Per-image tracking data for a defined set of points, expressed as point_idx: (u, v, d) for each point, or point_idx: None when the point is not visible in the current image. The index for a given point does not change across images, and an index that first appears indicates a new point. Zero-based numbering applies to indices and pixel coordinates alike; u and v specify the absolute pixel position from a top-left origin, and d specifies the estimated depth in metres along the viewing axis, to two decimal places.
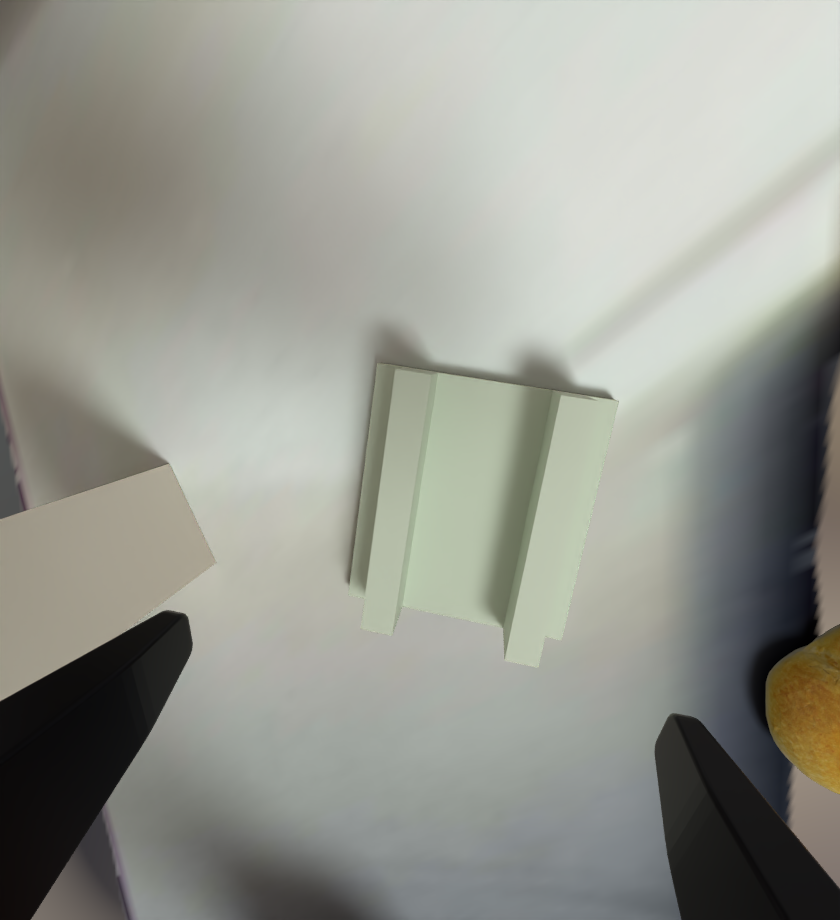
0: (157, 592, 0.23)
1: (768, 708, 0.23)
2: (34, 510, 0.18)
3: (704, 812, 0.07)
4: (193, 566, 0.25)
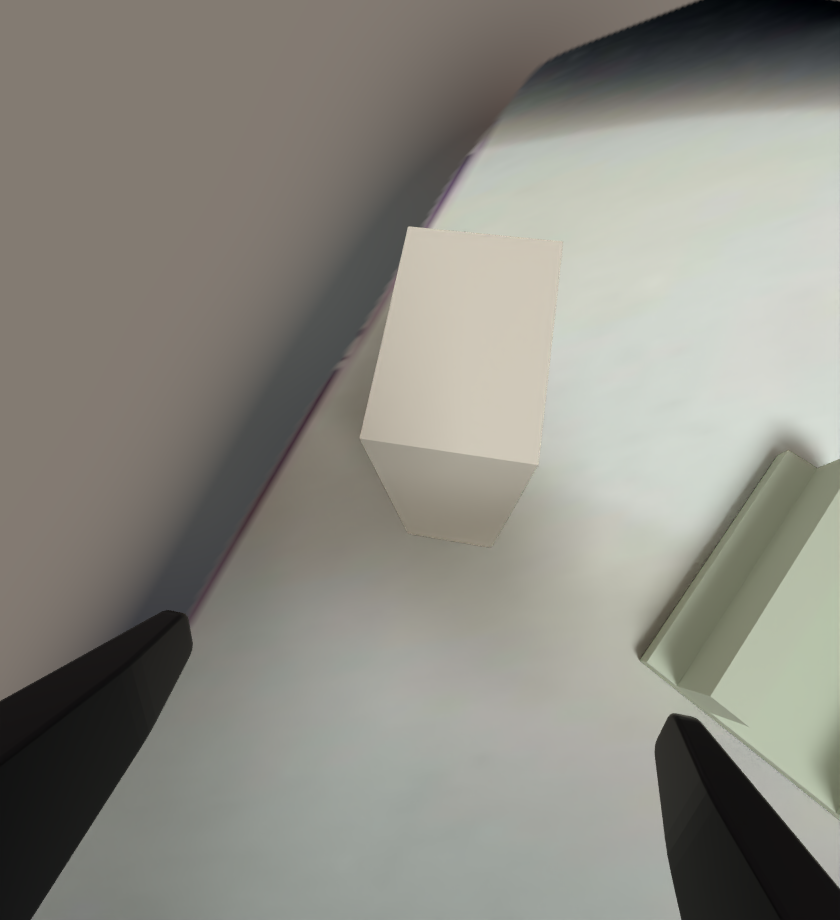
0: None
1: None
2: None
3: (704, 812, 0.07)
4: None
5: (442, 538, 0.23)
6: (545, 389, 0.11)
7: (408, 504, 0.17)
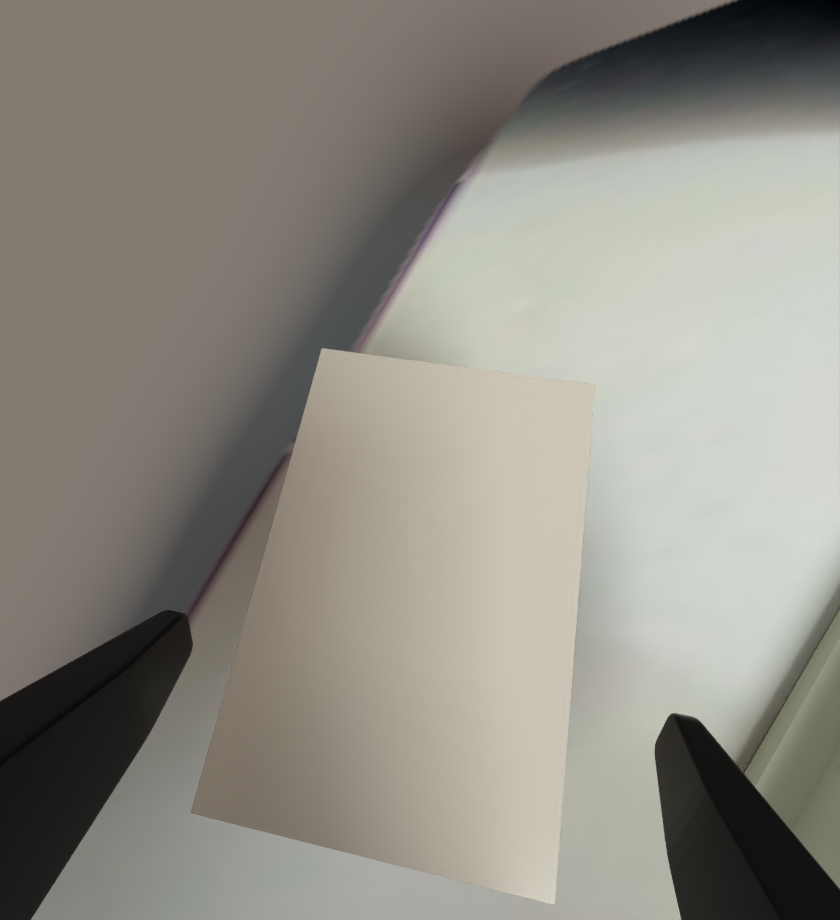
0: None
1: None
2: None
3: (705, 812, 0.07)
4: None
5: None
6: (567, 711, 0.05)
7: None
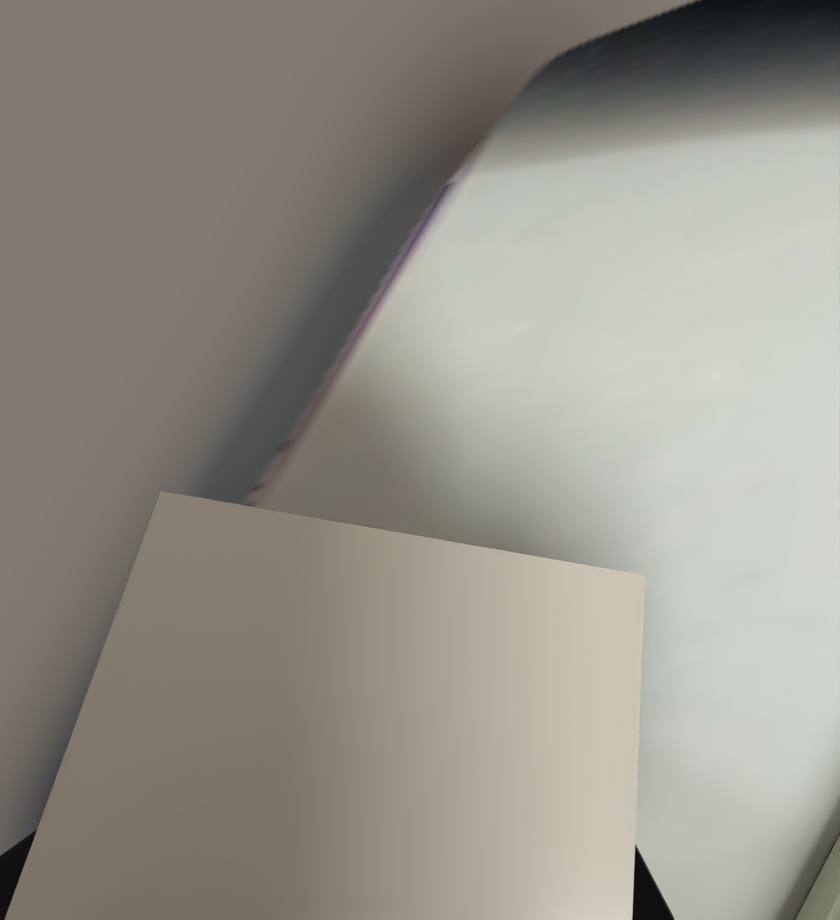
0: None
1: None
2: None
3: None
4: None
5: None
6: None
7: None
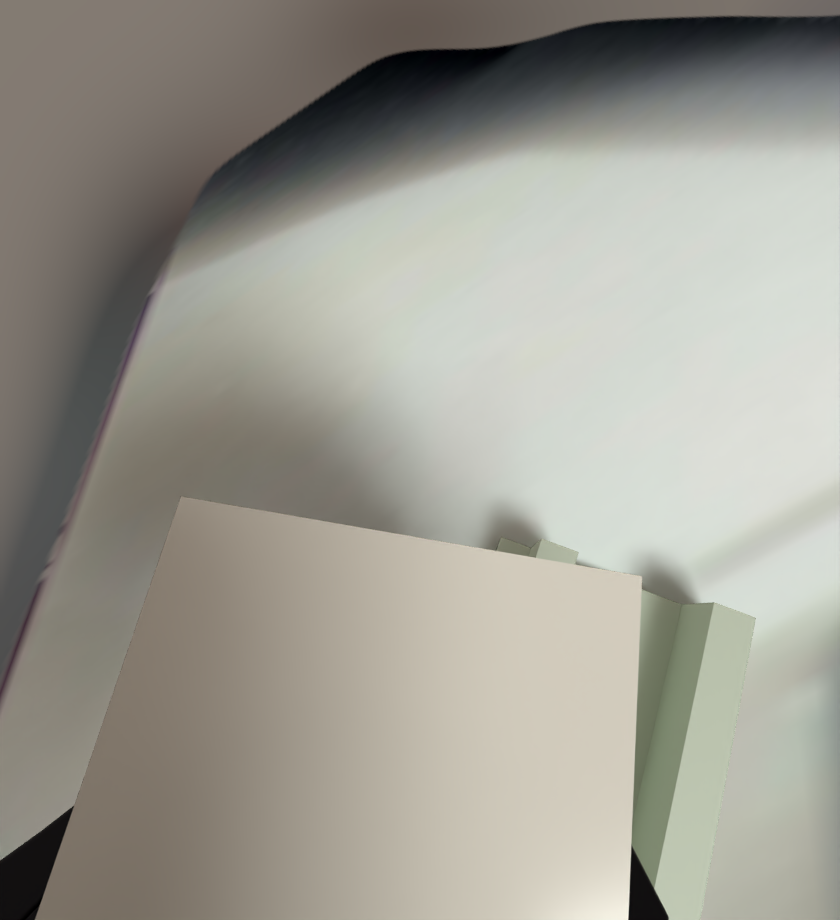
0: None
1: None
2: None
3: None
4: None
5: None
6: None
7: None
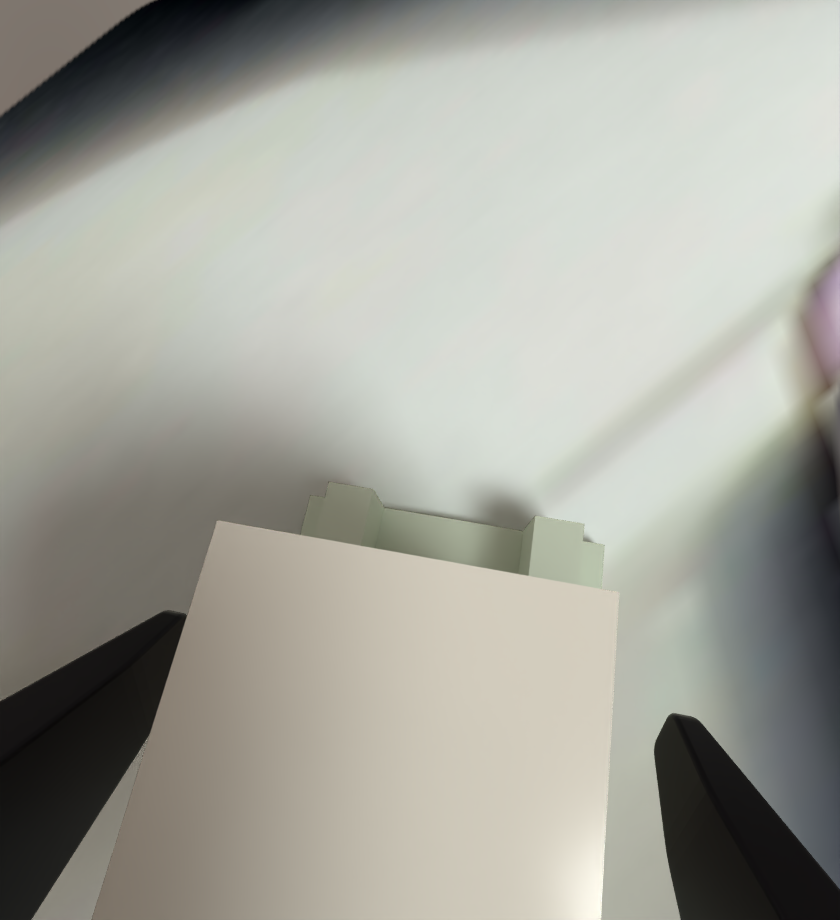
0: None
1: None
2: None
3: (703, 812, 0.07)
4: None
5: None
6: None
7: None
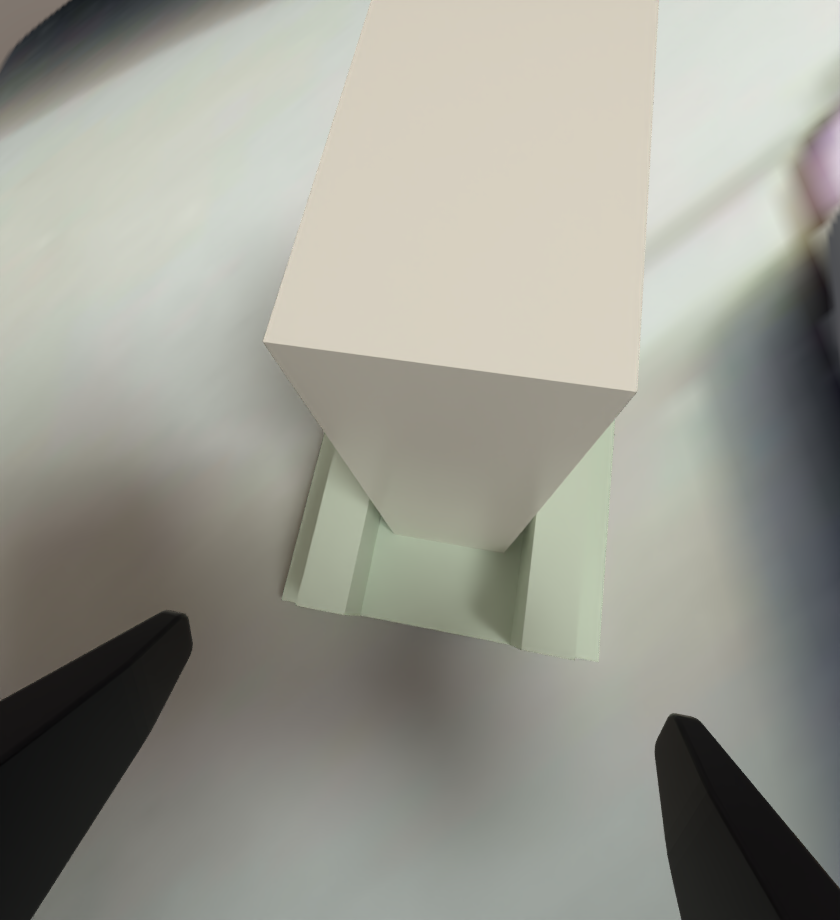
0: None
1: None
2: None
3: (704, 812, 0.07)
4: None
5: (439, 540, 0.17)
6: (643, 244, 0.05)
7: (386, 491, 0.11)
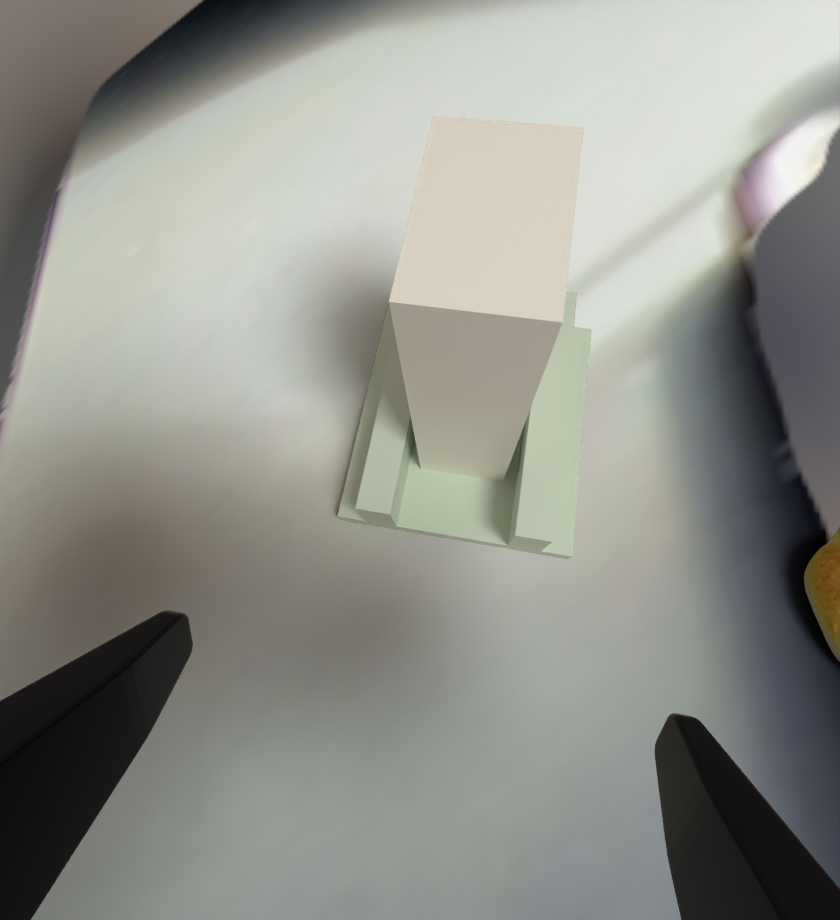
0: None
1: (818, 609, 0.20)
2: None
3: (704, 812, 0.07)
4: None
5: (454, 472, 0.23)
6: (568, 256, 0.11)
7: (426, 414, 0.17)
